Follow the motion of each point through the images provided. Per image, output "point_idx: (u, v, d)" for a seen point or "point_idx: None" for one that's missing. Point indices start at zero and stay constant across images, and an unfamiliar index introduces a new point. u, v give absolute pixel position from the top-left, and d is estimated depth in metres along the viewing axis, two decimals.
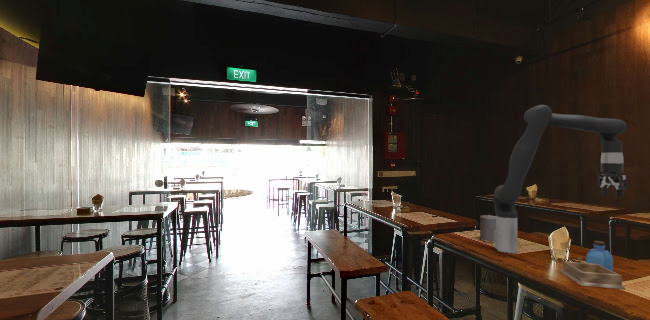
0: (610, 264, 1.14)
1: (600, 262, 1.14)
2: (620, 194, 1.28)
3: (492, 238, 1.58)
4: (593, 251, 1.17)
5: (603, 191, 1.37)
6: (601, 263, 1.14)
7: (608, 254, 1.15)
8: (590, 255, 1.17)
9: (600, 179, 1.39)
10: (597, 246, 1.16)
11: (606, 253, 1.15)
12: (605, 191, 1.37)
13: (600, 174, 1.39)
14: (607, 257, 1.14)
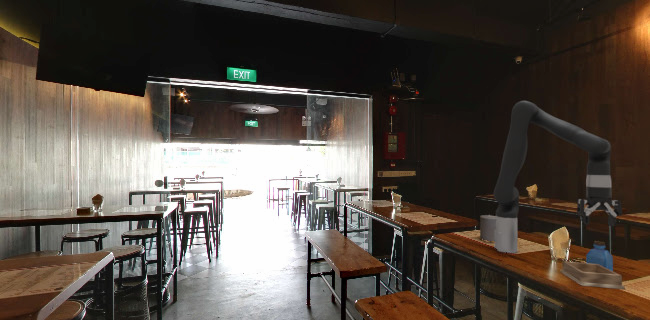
0: (610, 264, 1.14)
1: (600, 262, 1.14)
2: None
3: (492, 238, 1.58)
4: (593, 251, 1.17)
5: None
6: (601, 263, 1.14)
7: (608, 254, 1.15)
8: (590, 255, 1.17)
9: None
10: (597, 246, 1.16)
11: (606, 253, 1.15)
12: None
13: None
14: (607, 257, 1.14)
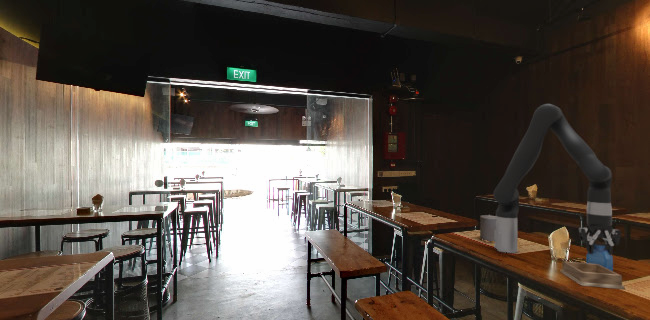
0: (610, 264, 1.14)
1: (600, 262, 1.14)
2: None
3: (492, 238, 1.58)
4: (593, 251, 1.17)
5: None
6: (601, 263, 1.14)
7: (608, 254, 1.15)
8: (590, 255, 1.17)
9: None
10: (597, 246, 1.16)
11: (606, 252, 1.15)
12: None
13: (583, 228, 1.18)
14: (607, 257, 1.14)
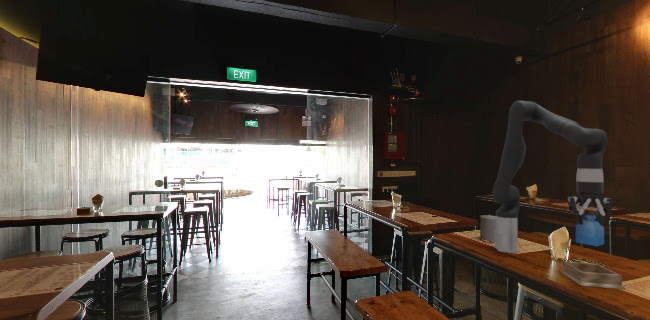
0: (601, 235, 1.05)
1: (590, 233, 1.05)
2: None
3: (492, 238, 1.58)
4: (583, 222, 1.08)
5: None
6: (591, 234, 1.05)
7: (599, 224, 1.06)
8: (579, 226, 1.08)
9: None
10: (587, 216, 1.07)
11: (597, 223, 1.06)
12: None
13: (572, 197, 1.08)
14: (598, 227, 1.04)
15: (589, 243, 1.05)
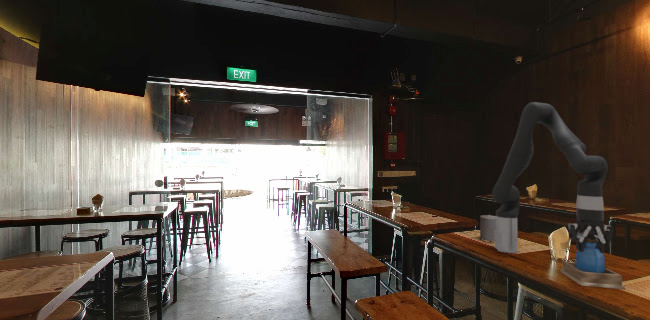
0: (602, 263, 1.05)
1: (590, 261, 1.05)
2: None
3: (492, 238, 1.58)
4: (583, 249, 1.07)
5: None
6: (592, 262, 1.05)
7: (599, 252, 1.06)
8: (580, 253, 1.08)
9: None
10: (588, 243, 1.07)
11: (597, 250, 1.05)
12: None
13: (573, 224, 1.08)
14: (598, 256, 1.04)
15: (590, 271, 1.05)
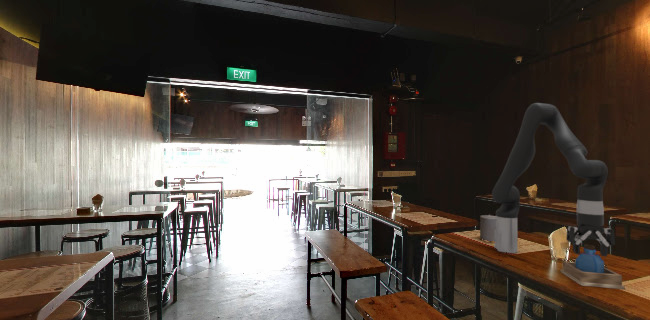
0: (601, 270, 1.05)
1: (590, 268, 1.05)
2: None
3: (492, 238, 1.58)
4: (583, 256, 1.08)
5: None
6: (591, 269, 1.05)
7: (599, 259, 1.06)
8: (579, 260, 1.08)
9: None
10: (587, 250, 1.07)
11: (597, 257, 1.06)
12: None
13: (573, 227, 1.08)
14: (598, 263, 1.04)
15: None
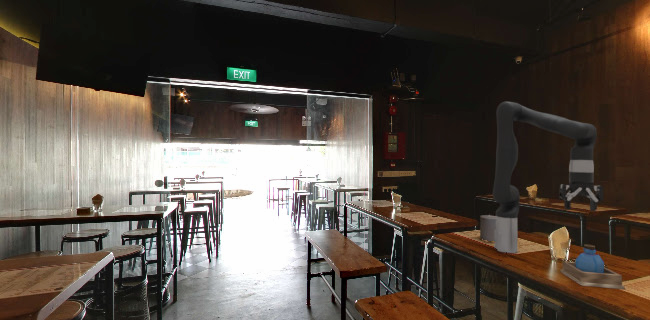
0: (601, 270, 1.05)
1: (590, 268, 1.05)
2: None
3: (492, 238, 1.58)
4: (583, 256, 1.08)
5: None
6: (591, 269, 1.05)
7: (599, 259, 1.06)
8: (579, 260, 1.08)
9: None
10: (587, 250, 1.07)
11: (597, 257, 1.06)
12: None
13: None
14: (598, 263, 1.04)
15: None
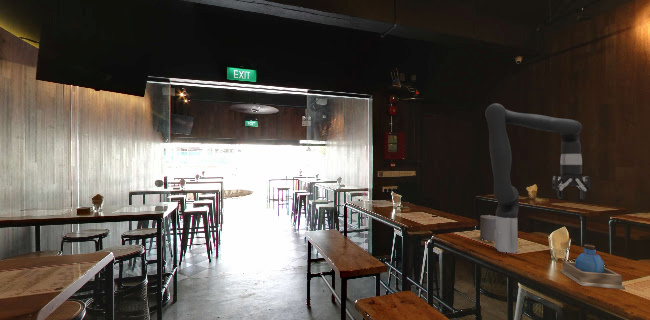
0: (601, 270, 1.05)
1: (590, 268, 1.05)
2: None
3: (492, 238, 1.58)
4: (583, 256, 1.08)
5: None
6: (591, 269, 1.05)
7: (599, 259, 1.06)
8: (579, 260, 1.08)
9: None
10: (587, 250, 1.07)
11: (597, 257, 1.06)
12: None
13: None
14: (598, 263, 1.04)
15: None
